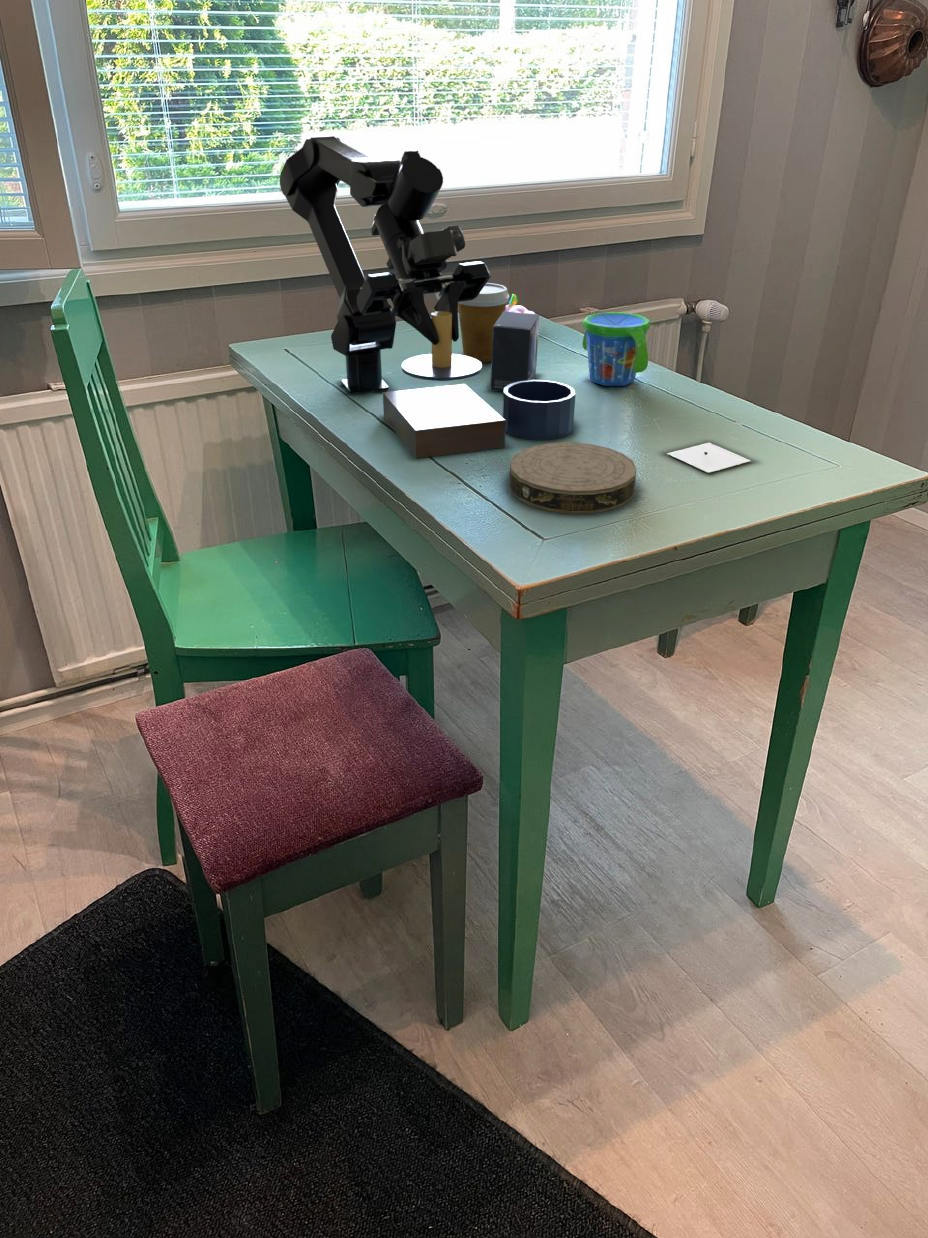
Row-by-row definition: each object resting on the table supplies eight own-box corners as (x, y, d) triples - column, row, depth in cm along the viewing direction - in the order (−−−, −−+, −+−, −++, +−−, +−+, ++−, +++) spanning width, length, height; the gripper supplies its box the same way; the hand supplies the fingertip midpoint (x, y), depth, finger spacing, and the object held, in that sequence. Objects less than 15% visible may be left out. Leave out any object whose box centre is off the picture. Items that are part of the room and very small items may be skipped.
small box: (529, 394, 151) (531, 328, 145) (489, 391, 152) (490, 326, 146) (537, 375, 160) (540, 312, 154) (500, 372, 161) (501, 310, 155)
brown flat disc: (653, 507, 114) (656, 485, 113) (527, 519, 111) (528, 495, 110) (609, 459, 128) (611, 438, 126) (495, 468, 125) (496, 446, 123)
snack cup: (563, 370, 162) (566, 310, 156) (617, 365, 165) (622, 305, 160) (604, 398, 149) (610, 334, 144) (662, 391, 152) (670, 328, 147)
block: (383, 418, 141) (382, 392, 139) (465, 409, 145) (465, 383, 143) (416, 458, 127) (415, 430, 125) (505, 447, 131) (505, 419, 129)
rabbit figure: (489, 323, 194) (514, 329, 180) (489, 293, 191) (513, 297, 178) (518, 321, 195) (544, 327, 182) (517, 291, 193) (544, 295, 180)
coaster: (751, 460, 127) (752, 455, 127) (708, 472, 123) (709, 467, 123) (708, 442, 133) (709, 437, 132) (666, 453, 129) (667, 448, 129)
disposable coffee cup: (517, 354, 170) (519, 286, 164) (490, 367, 163) (491, 296, 157) (472, 346, 174) (473, 279, 168) (444, 359, 167) (444, 289, 161)
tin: (492, 419, 141) (493, 383, 138) (555, 412, 144) (557, 377, 141) (518, 443, 132) (519, 405, 130) (584, 435, 135) (587, 398, 133)
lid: (406, 359, 137) (405, 302, 132) (484, 361, 136) (485, 304, 132) (396, 383, 127) (394, 323, 123) (479, 386, 126) (480, 325, 122)
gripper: (361, 209, 119) (406, 317, 117) (484, 198, 127) (528, 299, 125) (338, 263, 129) (379, 363, 127) (454, 250, 137) (494, 344, 135)
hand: (446, 341), depth 128 cm, fingers closed on lid, 3 cm apart
